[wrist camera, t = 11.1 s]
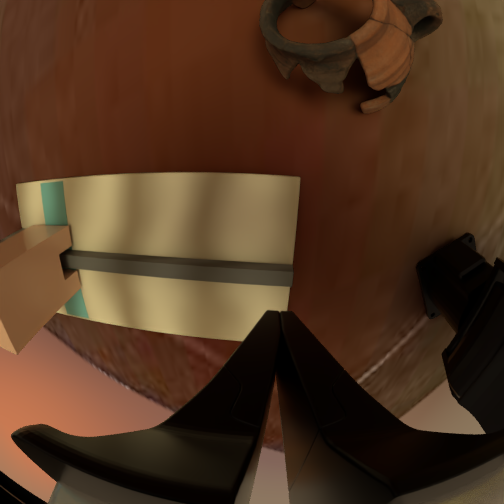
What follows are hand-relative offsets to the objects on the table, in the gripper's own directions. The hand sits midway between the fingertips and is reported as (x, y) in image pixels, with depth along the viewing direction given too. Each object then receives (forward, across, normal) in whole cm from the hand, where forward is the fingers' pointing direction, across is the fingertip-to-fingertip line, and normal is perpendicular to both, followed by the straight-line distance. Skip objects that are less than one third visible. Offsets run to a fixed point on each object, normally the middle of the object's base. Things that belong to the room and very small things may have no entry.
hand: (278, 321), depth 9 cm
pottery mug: (+12, -5, -13) cm, 19 cm away
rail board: (+12, +11, +4) cm, 17 cm away
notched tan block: (+11, +20, +4) cm, 23 cm away
